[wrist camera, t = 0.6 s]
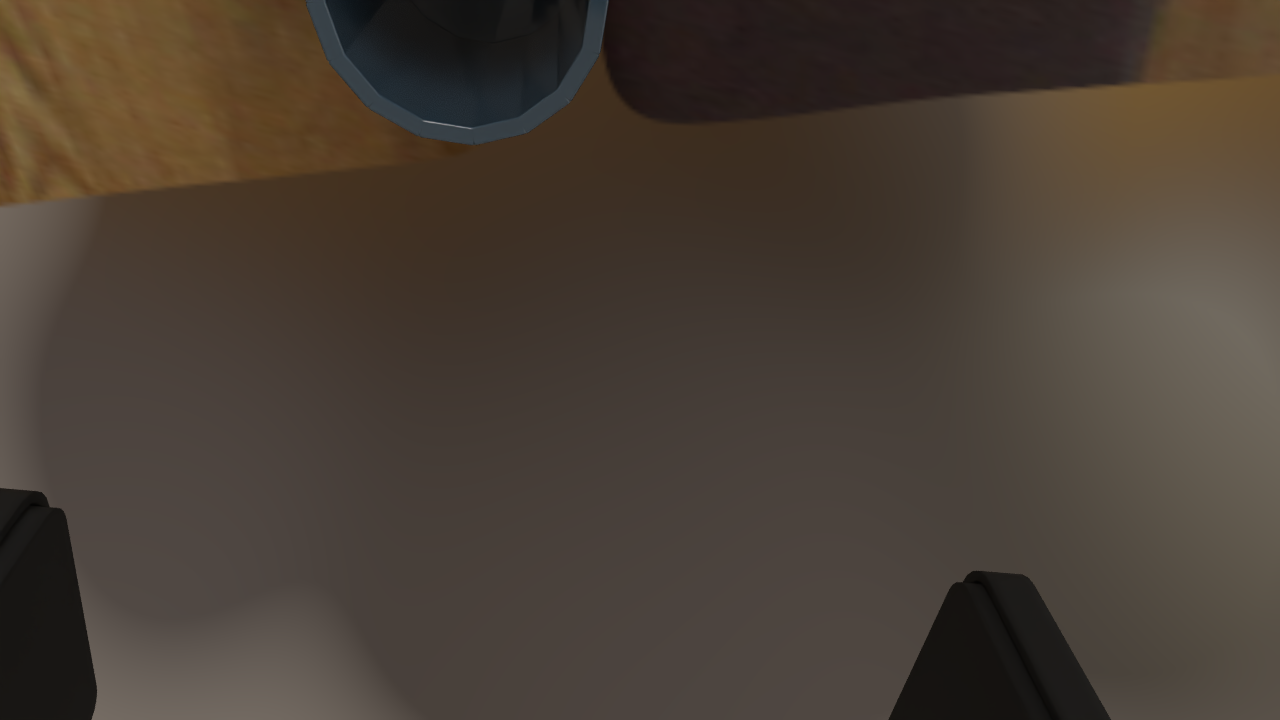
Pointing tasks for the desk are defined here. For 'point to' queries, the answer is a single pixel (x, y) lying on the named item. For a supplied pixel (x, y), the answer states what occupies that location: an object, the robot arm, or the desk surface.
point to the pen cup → (462, 60)
